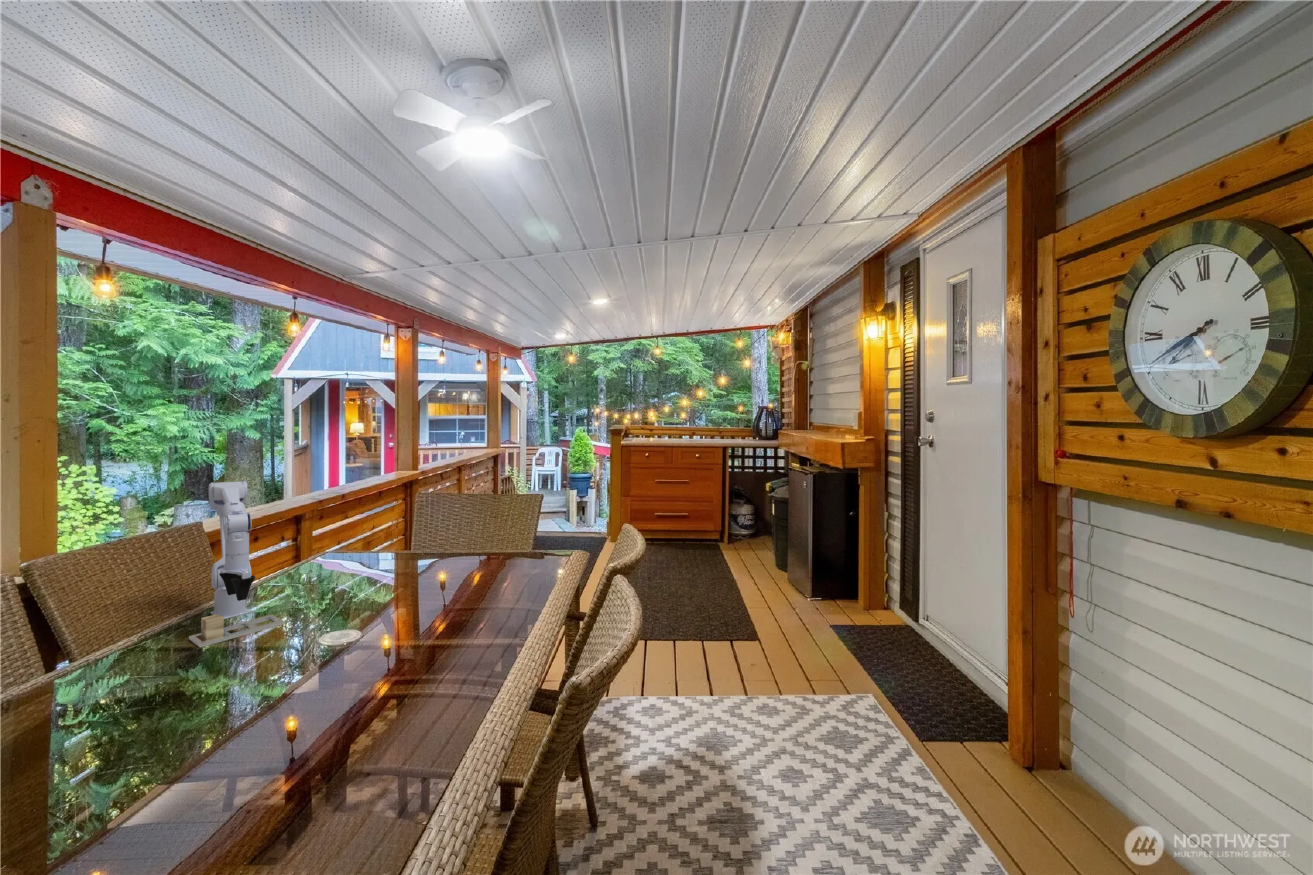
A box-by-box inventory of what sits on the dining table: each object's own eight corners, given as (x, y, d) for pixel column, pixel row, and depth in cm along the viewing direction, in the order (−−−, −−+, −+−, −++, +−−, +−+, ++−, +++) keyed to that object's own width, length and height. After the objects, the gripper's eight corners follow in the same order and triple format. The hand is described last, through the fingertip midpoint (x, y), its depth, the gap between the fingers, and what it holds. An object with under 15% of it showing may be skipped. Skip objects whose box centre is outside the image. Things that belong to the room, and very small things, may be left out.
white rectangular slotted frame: (189, 639, 149) (189, 636, 149) (272, 617, 166) (272, 614, 166) (199, 647, 145) (199, 644, 144) (283, 624, 162) (283, 621, 162)
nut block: (201, 638, 150) (201, 618, 149) (218, 633, 153) (218, 613, 153) (206, 642, 148) (206, 621, 147) (223, 637, 151) (223, 617, 151)
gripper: (211, 551, 158) (211, 595, 159) (230, 560, 150) (230, 606, 151) (240, 547, 164) (239, 589, 165) (259, 555, 156) (258, 599, 157)
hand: (237, 597), depth 158 cm, fingers open, 7 cm apart
